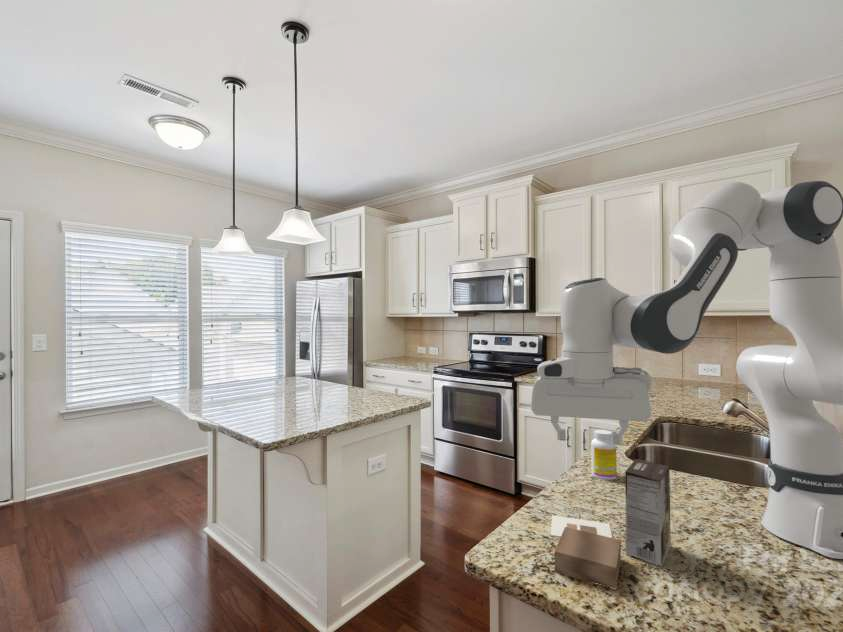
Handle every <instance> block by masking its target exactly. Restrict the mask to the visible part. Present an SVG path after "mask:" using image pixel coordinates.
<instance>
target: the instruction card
mask: <svg viewBox="0 0 843 632" xmlns="http://www.w3.org/2000/svg"><path fill="white" fill-rule="evenodd" d="M565 527H568V528H572V529H576V530H580V531H585V532H589V533H593V534H597V535H601V536H606V537H610V538H613V534H612V529H611V525H610V523H605V522H600V521H595V520H594V521H592V520H586V519H579V518H572V517H567V516H560V515H551V525H550V537H551V536H552V537H557V538H561V535H562V533H563V531H564V529H565Z"/></svg>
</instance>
